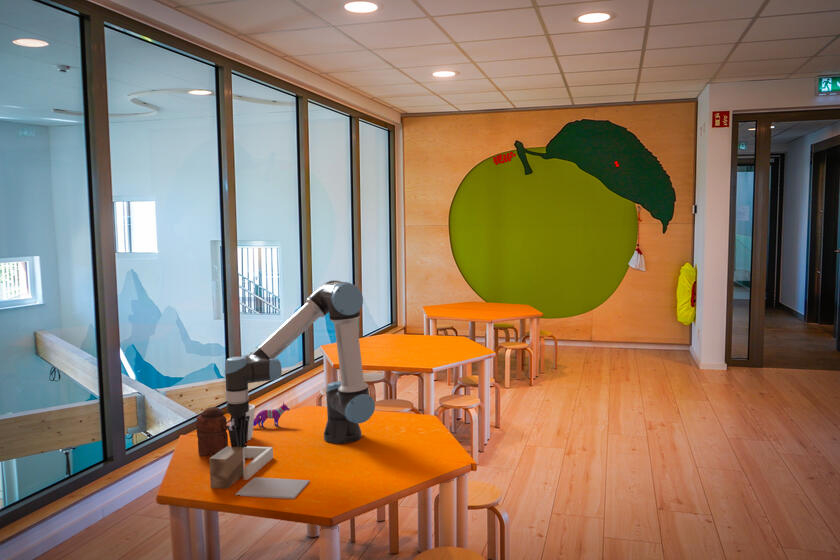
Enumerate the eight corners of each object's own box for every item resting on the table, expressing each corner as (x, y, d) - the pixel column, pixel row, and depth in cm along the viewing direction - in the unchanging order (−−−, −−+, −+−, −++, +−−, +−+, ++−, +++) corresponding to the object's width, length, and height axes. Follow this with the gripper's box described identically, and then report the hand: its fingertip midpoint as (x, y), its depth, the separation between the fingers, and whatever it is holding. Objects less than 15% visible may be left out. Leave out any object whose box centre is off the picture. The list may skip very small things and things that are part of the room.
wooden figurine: (230, 449, 264) (228, 404, 263) (227, 455, 258) (225, 409, 256) (199, 451, 263) (197, 405, 262) (195, 457, 257) (193, 410, 255)
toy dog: (290, 427, 291) (289, 403, 290) (247, 430, 289) (246, 406, 288) (290, 424, 295) (289, 401, 294) (248, 427, 292) (247, 404, 291)
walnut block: (243, 475, 238) (242, 447, 237) (227, 488, 226) (225, 459, 225) (228, 474, 239) (226, 446, 238) (210, 487, 227) (209, 458, 226)
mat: (309, 482, 230) (309, 480, 230) (294, 499, 216) (293, 497, 216) (254, 478, 234) (254, 477, 234) (235, 495, 220) (235, 493, 220)
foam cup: (259, 435, 282) (257, 404, 280) (251, 442, 272) (250, 410, 271) (237, 434, 283) (235, 404, 281) (228, 442, 273) (227, 410, 272)
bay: (273, 457, 254) (272, 447, 254) (247, 479, 233) (247, 468, 233) (243, 456, 257) (242, 445, 256) (215, 477, 236) (214, 466, 235)
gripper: (236, 395, 247) (239, 459, 249) (218, 405, 234) (221, 472, 236) (255, 396, 245) (258, 460, 247) (238, 406, 233) (241, 473, 235)
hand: (240, 466), depth 242 cm, fingers closed
